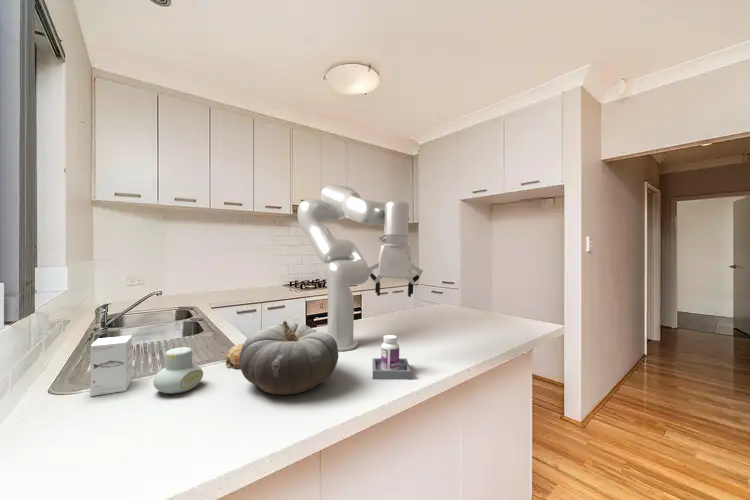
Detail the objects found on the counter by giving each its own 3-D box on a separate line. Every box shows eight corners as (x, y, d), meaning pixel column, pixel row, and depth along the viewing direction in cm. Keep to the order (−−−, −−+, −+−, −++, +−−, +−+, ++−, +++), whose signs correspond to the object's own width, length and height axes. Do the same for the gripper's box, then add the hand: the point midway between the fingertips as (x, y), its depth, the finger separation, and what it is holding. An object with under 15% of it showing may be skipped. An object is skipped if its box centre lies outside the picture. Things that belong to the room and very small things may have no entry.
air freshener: (172, 401, 79) (172, 359, 79) (146, 396, 81) (146, 355, 81) (208, 382, 89) (208, 345, 89) (184, 378, 92) (184, 342, 91)
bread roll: (222, 376, 103) (213, 356, 100) (245, 353, 112) (237, 333, 108) (248, 381, 99) (239, 360, 96) (269, 356, 108) (261, 337, 105)
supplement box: (89, 397, 80) (88, 345, 80) (97, 386, 86) (97, 337, 86) (126, 391, 83) (126, 341, 83) (132, 380, 90) (132, 334, 90)
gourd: (281, 352, 107) (285, 300, 104) (350, 376, 98) (357, 321, 95) (218, 391, 84) (221, 327, 81) (301, 427, 75) (308, 357, 72)
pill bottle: (399, 366, 100) (399, 334, 100) (399, 372, 95) (399, 339, 95) (381, 365, 101) (381, 333, 101) (380, 372, 95) (380, 338, 95)
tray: (372, 379, 92) (372, 371, 92) (372, 365, 103) (372, 358, 103) (410, 379, 93) (410, 371, 93) (406, 365, 103) (406, 358, 103)
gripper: (367, 240, 100) (365, 296, 101) (425, 242, 99) (423, 298, 100) (368, 240, 107) (367, 292, 108) (422, 241, 107) (420, 294, 108)
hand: (393, 295), depth 104 cm, fingers open, 9 cm apart
